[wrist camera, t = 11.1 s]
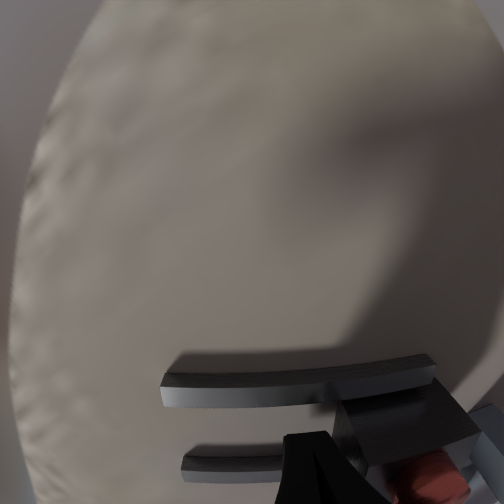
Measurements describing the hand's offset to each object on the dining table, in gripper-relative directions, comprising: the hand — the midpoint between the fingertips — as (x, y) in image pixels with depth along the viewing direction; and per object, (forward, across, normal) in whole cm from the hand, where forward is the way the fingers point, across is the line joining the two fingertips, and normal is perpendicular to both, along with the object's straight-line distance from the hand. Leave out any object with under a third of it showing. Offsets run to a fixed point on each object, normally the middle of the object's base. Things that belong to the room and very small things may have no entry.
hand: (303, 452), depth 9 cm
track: (+1, 0, 0) cm, 1 cm away
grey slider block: (+1, -3, 0) cm, 4 cm away
